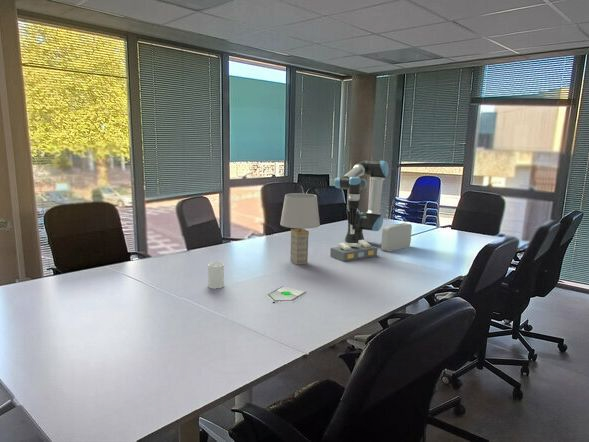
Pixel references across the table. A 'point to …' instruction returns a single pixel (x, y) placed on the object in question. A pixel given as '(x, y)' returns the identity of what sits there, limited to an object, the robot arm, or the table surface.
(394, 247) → the rounded white slab
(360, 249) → the switch unit
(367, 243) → the rocker
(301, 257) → the lamp
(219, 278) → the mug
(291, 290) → the security device
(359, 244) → the rocker
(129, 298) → the table surface
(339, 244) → the rocker
